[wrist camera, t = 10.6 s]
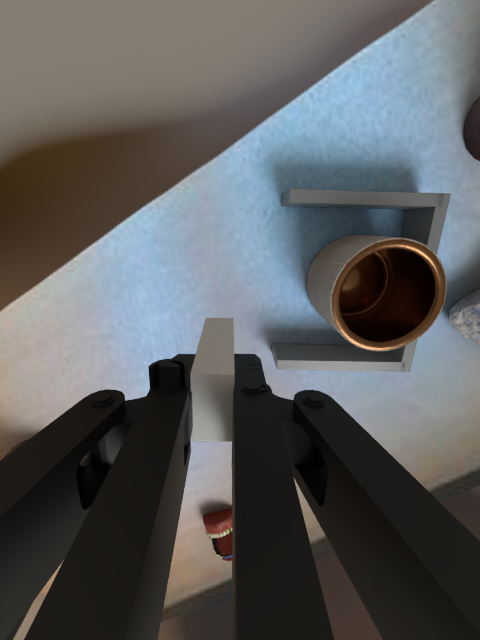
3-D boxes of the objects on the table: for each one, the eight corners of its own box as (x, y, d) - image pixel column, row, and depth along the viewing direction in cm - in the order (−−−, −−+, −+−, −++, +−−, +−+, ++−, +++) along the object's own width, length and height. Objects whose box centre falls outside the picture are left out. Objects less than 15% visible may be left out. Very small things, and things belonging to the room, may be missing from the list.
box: (271, 352, 38) (276, 369, 33) (282, 194, 32) (290, 188, 28) (388, 354, 39) (409, 371, 34) (419, 198, 33) (450, 193, 28)
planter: (376, 216, 33) (429, 212, 24) (405, 298, 36) (462, 321, 27) (290, 261, 35) (310, 272, 26) (325, 336, 38) (353, 370, 29)
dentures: (233, 527, 42) (248, 563, 45) (234, 501, 46) (247, 535, 49) (197, 534, 43) (213, 569, 45) (201, 507, 47) (216, 540, 49)
